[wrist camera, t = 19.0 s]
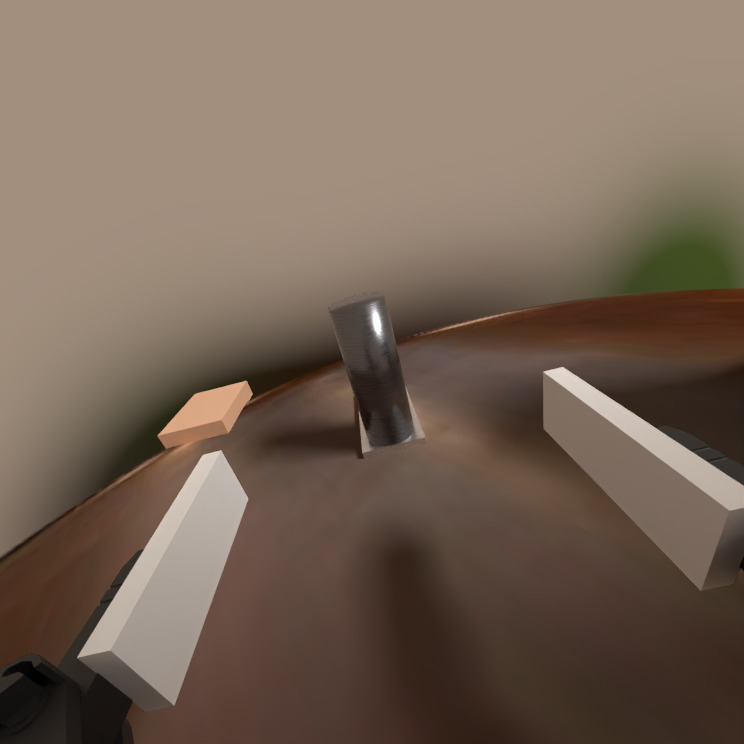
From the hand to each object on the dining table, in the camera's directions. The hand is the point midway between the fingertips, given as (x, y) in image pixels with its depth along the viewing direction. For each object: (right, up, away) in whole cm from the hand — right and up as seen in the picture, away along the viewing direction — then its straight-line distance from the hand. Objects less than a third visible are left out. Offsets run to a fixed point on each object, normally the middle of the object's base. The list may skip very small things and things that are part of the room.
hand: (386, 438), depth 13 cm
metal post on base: (+1, -1, +16) cm, 16 cm away
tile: (-19, -4, +20) cm, 28 cm away
